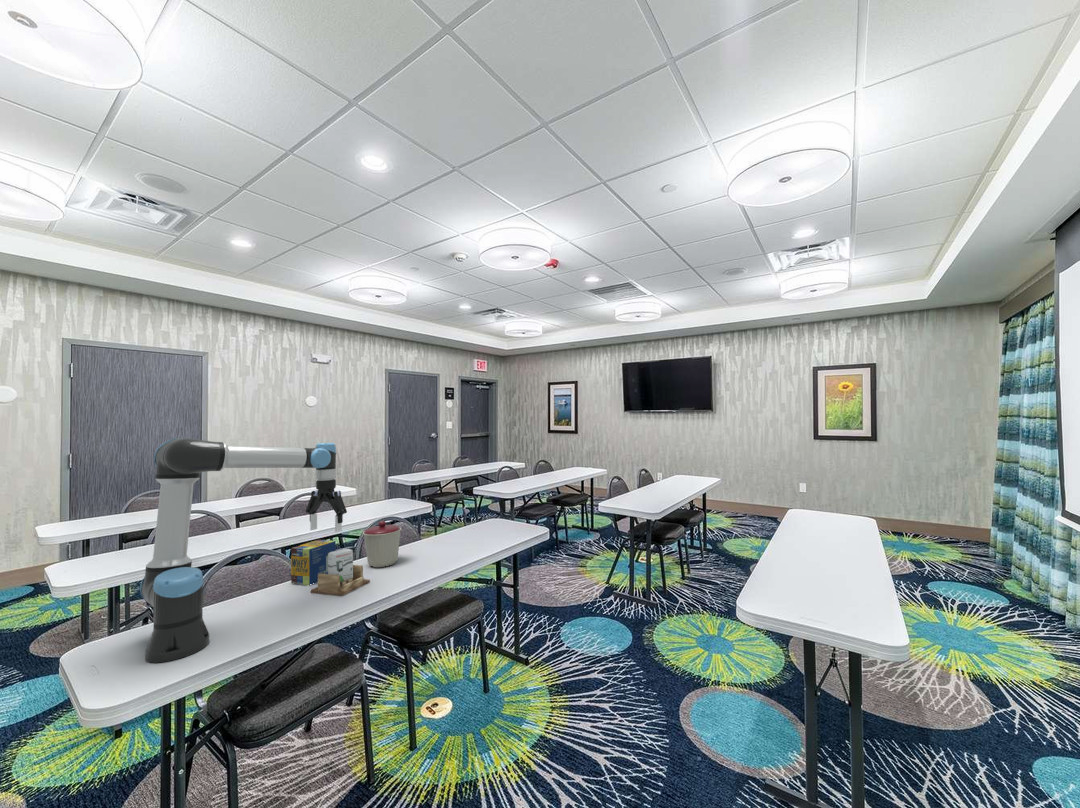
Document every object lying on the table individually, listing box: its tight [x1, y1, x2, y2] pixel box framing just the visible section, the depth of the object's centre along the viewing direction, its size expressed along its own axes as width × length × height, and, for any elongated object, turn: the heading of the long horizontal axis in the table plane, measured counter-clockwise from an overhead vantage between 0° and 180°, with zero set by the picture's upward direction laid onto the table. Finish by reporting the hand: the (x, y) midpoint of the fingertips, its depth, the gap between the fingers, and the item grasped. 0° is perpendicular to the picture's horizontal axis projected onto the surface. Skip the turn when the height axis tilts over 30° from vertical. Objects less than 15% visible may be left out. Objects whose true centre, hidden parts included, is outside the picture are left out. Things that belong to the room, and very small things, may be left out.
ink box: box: [328, 548, 354, 582], centre depth 184 cm, size 9×5×12 cm, turn 143°
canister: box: [362, 520, 402, 568], centre depth 215 cm, size 18×18×21 cm
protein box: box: [290, 539, 337, 586], centre depth 197 cm, size 10×15×16 cm
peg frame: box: [310, 564, 371, 597], centre depth 184 cm, size 16×16×7 cm
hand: (325, 530), depth 184 cm, fingers open, 13 cm apart
